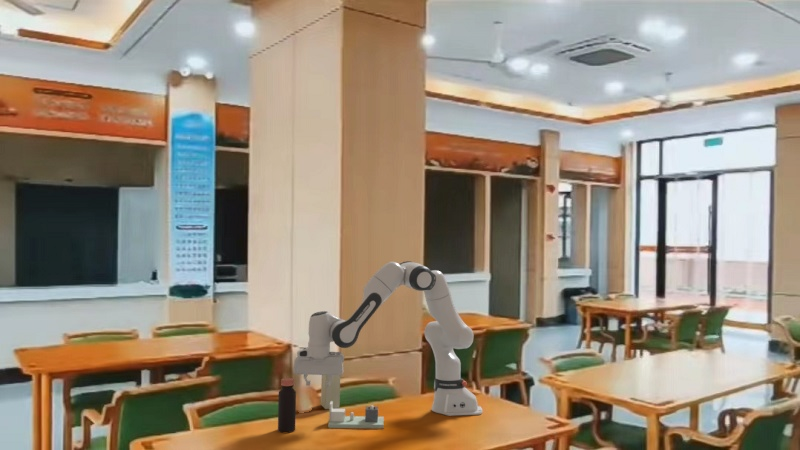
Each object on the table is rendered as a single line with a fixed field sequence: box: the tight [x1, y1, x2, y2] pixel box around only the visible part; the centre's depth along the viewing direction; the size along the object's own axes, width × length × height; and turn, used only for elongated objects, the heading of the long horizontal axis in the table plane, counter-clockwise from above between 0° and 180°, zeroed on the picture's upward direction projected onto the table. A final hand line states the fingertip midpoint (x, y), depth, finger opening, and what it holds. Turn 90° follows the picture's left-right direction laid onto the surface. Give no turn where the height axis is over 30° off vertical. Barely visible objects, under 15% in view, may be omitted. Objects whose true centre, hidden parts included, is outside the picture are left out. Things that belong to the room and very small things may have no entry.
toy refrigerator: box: [320, 375, 341, 410], centre depth 298 cm, size 8×7×21 cm
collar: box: [364, 406, 379, 422], centre depth 271 cm, size 5×5×5 cm
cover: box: [328, 401, 346, 422], centre depth 271 cm, size 6×5×7 cm
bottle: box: [277, 377, 297, 433], centre depth 261 cm, size 7×7×20 cm
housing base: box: [327, 404, 385, 430], centre depth 271 cm, size 22×12×8 cm, turn 91°
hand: (318, 385), depth 271 cm, fingers open, 7 cm apart
